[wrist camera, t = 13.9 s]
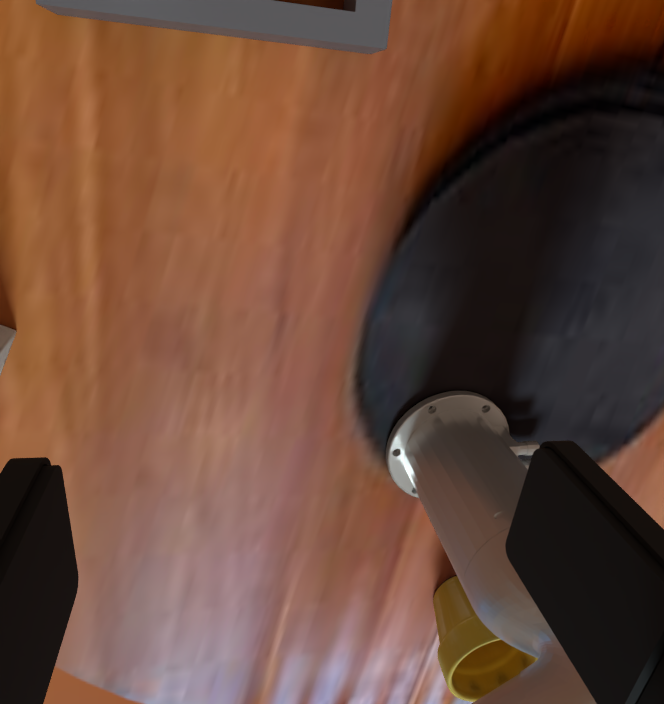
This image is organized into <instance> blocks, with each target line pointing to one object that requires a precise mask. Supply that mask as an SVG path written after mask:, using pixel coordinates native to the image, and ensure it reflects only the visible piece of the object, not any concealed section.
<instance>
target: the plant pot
mask: <svg viewBox="0 0 664 704" xmlns="http://www.w3.org/2000/svg"><path fill="white" fill-rule="evenodd" d="M433 604H434V611H435V616H436V622H437V629H438V635H439V641H440V645H439V648H438V660H439V663H440V666H441V670H442V672H443V675H444V678H445V681H446V683H447V686H448V688H449V690H450V691H451V693H452V694H453V695H454V696H456V697H458V698H460V699H462V700H465V701H471V702H475V701H477V700H478V699H480V698H481V697H483V696H485V695H486V694H488V693H489V692H491V691H493V690H494V689H496V688H497V687H499V686H501V685H502V684H504V683H506V682H507V681H509V680H510V679H512V678H514V677H515V676H517V675H518V674H520V672H521V671H523V670H524V669H525V668H527V667H528V666H530V665H531V664H533V663H534V662H535V661H536V660H537V659H538V658H536V657H534V656H532V655H529V654H527V653H525V652H523V651H521V650H519V649H517V648H515V647H513V646H511V645H509V644H507V643H506V642H504V641H503V640H501V639H500V638H498V637H497V636H496V635H494V634H493V633H492V632H491V631H490V630H489V629H488V628H487V627H486V626H485V625H484V624H483V623H482V621H481V620H480V619H479V617H478V616H477V614H476V613H475V611H474V609H473V607H472V605H471V603H470V601H469V599H468V597H467V595H466V593H465V591H464V589H463V587H462V585H461V583H460V581H459V579H458V577H457V576H455V577H452V578H450V579H448V580H447V581H445V582H444V583H443V584H442V585H441V586H440V587H439V588H438V589H437V591H436V592H435V595H434V599H433Z"/></svg>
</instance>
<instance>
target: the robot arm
mask: <svg viewBox="0 0 664 704" xmlns="http://www.w3.org/2000/svg"><path fill="white" fill-rule="evenodd" d="M518 455H532V458H531V459H522V460H520V459H519V458H518ZM386 462H387V466H388V469H389V472H390V474H391V476H392V478H393V480H394V481H395V483H396V484H397V485H398V486H399V487H400V488H401V489H402V490H403V491H404V492H406V493H408V494H410V495H411V496H414V497H417V498H420V500H421V502H422V504H423V506H424V509H425V511H426V513H427V515H428V517H429V519H430V521H431V523H432V525H433V527H434V529H435V531H436V533H437V535H438V537H439V540H440V542H441V544H442V546H443V548H444V550H445V552H446V554H447V556H448V558H449V560H450V562H451V564H452V566H453V568H454V571H455V573H456V575H457V577H458V579H459V581H460V583H461V585H462V587H463V589H464V591H465V593H466V595H467V597H468V599H469V601H470V603H471V605H472V607H473V609H474V611H475V613H476V614H477V616H478V617H479V619H480V620H481V621H482V623H483V624H484V625H485V626H486V627H487V628H488V629H489V630H490V631H491V632H492V633H493V634H494V635H496V636H497V637H498V638H500V639H501V640H503V641H504V642H506V643H507V644H509V645H511V646H513V647H515V648H517V649H519V650H521V651H523V652H525V653H527V654H529V655H532V656H534V657H536V658H538V659H537V660H536V661H535V662H534V663H533V664H531V665H530V666H528V667H527V668H525V669H524V670H523V671H521V672H520V674H518V675H517V676H515V677H514V678H512V679H510V680H509V681H507V682H506V683H504V684H502V685H501V686H499V687H497V688H496V689H494V690H493V691H491V692H489V693H488V694H486V695H485V696H483V697H481V698H480V699H478V700H477V701H475V702H473V703H472V704H664V529H663V528H662V527H661V526H660V525H658V524H657V523H656V522H655V521H654V520H653V519H652V518H651V517H650V516H649V515H648V514H647V513H646V512H645V511H644V510H643V509H642V508H641V507H640V506H639V505H638V504H637V503H636V502H635V501H634V500H633V499H632V498H631V497H630V496H629V495H628V494H627V493H626V492H625V491H624V490H623V489H622V488H621V487H620V486H619V485H618V484H617V483H616V482H615V481H614V480H613V479H612V478H611V477H610V476H609V475H608V474H607V473H606V472H605V471H603V470H602V469H601V468H600V467H599V466H598V465H597V464H596V463H595V462H594V461H593V460H592V459H591V458H590V457H589V456H588V455H587V454H586V453H585V452H584V451H583V450H582V449H581V448H580V447H579V446H578V445H577V444H576V443H574V442H573V441H547V442H543V443H542V444H541V445H540V447H539V444H538V442H536V441H523V442H516V440H513V438H512V437H511V436H510V435H509V426H508V423H507V421H506V418H505V416H504V415H503V413H502V412H501V410H500V409H499V408H498V407H497V406H496V405H495V404H494V403H493V402H492V401H491V400H489V399H488V398H486V397H485V396H482V395H480V394H477V393H474V392H469V391H449V392H444V393H440V394H437V395H434V396H431V397H428V398H427V399H425V400H423V401H421V402H419V403H417V404H416V405H415V406H414V407H412V408H411V409H410V410H408V411H407V412H406V413H405V414H404V415H403V416H402V417H401V418H400V419H399V421H398V422H397V424H396V425H395V427H394V428H393V430H392V432H391V434H390V437H389V439H388V443H387V447H386ZM77 588H78V569H77V563H76V557H75V550H74V544H73V538H72V531H71V525H70V519H69V512H68V506H67V499H66V493H65V487H64V480H63V474H62V469H61V467H60V466H59V465H53V466H51V463H50V461H49V459H48V458H46V457H45V458H14V459H10V460H9V461H8V462H7V464H6V465H5V467H4V468H3V470H2V472H1V473H0V704H43V702H44V699H45V696H46V692H47V689H48V686H49V683H50V679H51V676H52V673H53V669H54V666H55V663H56V660H57V656H58V653H59V650H60V647H61V643H62V640H63V637H64V634H65V630H66V627H67V624H68V620H69V617H70V614H71V611H72V607H73V604H74V601H75V598H76V594H77Z"/></svg>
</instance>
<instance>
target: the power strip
mask: <svg viewBox="0 0 664 704" xmlns="http://www.w3.org/2000/svg"><path fill="white" fill-rule="evenodd" d="M36 4H38V5H40V6H42V7H44V8H46V9H47V10H49V11H51V12H53V13H55V14H57V15H65V16H73V17H81V18H89V19H97V20H105V21H112V22H120V23H128V24H136V25H144V26H152V27H160V28H168V29H176V30H184V31H192V32H200V33H208V34H216V35H223V36H231V37H239V38H247V39H255V40H263V41H271V42H279V43H287V44H295V45H303V46H311V47H319V48H327V49H334V50H342V51H350V52H358V53H366V54H373V53H376V52H379V51H382V50H385V49H387V40H388V32H389V23H390V15H391V6H392V0H344V7H343V10H337V9H330V8H323V7H316V6H309V5H302V4H295V3H288V2H281V1H274V0H36Z"/></svg>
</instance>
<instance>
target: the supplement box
mask: <svg viewBox="0 0 664 704" xmlns="http://www.w3.org/2000/svg"><path fill="white" fill-rule="evenodd" d="M15 334H16V330H14V329H11V328H8V327H5V326H3V325H0V375H1V372H2V369H3V367H4V364H5V361H6V359H7V356H8V353H9V351H10V348H11V345H12V343H13V340H14V337H15Z"/></svg>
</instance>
